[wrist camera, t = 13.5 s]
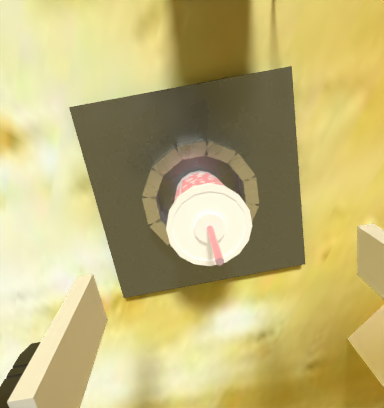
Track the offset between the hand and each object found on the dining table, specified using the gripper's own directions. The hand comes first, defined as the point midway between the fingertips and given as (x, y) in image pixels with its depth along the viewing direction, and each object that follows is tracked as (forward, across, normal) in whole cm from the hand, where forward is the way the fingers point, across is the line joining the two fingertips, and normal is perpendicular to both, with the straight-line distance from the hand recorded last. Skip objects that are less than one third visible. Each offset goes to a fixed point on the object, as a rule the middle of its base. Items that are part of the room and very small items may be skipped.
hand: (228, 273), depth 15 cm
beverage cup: (+16, 0, 0) cm, 16 cm away
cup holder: (+17, 0, 0) cm, 17 cm away
